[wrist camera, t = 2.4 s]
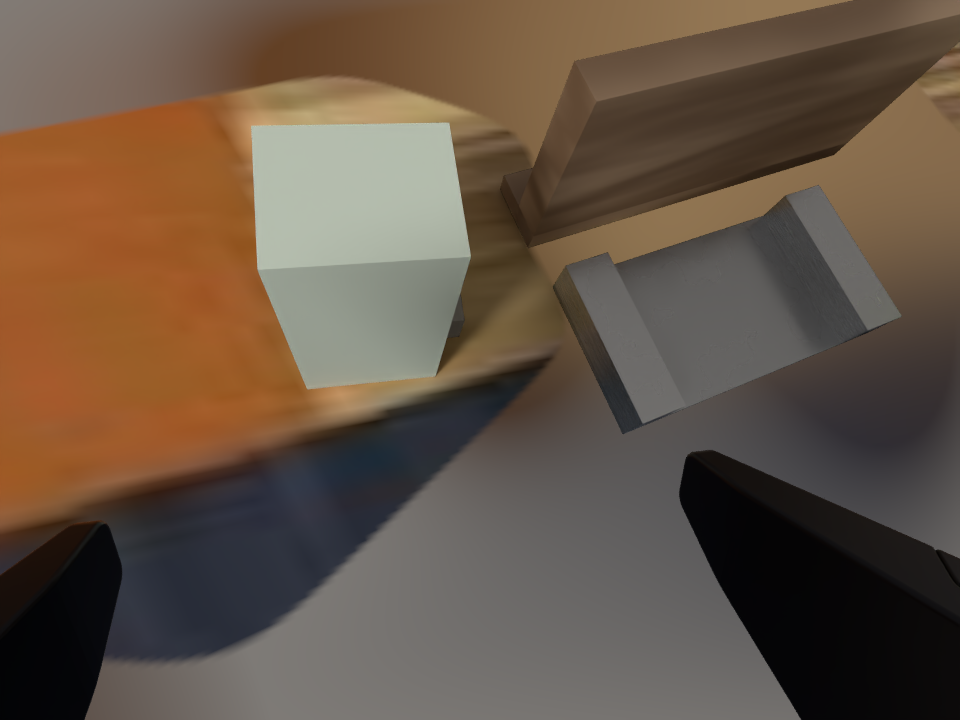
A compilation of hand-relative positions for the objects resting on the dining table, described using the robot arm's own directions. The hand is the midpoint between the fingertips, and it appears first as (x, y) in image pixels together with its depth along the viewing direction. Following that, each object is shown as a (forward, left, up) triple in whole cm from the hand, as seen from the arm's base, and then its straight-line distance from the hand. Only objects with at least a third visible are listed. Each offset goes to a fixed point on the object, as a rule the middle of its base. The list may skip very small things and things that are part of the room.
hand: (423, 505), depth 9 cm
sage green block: (+8, -2, -13) cm, 16 cm away
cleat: (+4, -17, -13) cm, 22 cm away
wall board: (+10, -19, -13) cm, 25 cm away
